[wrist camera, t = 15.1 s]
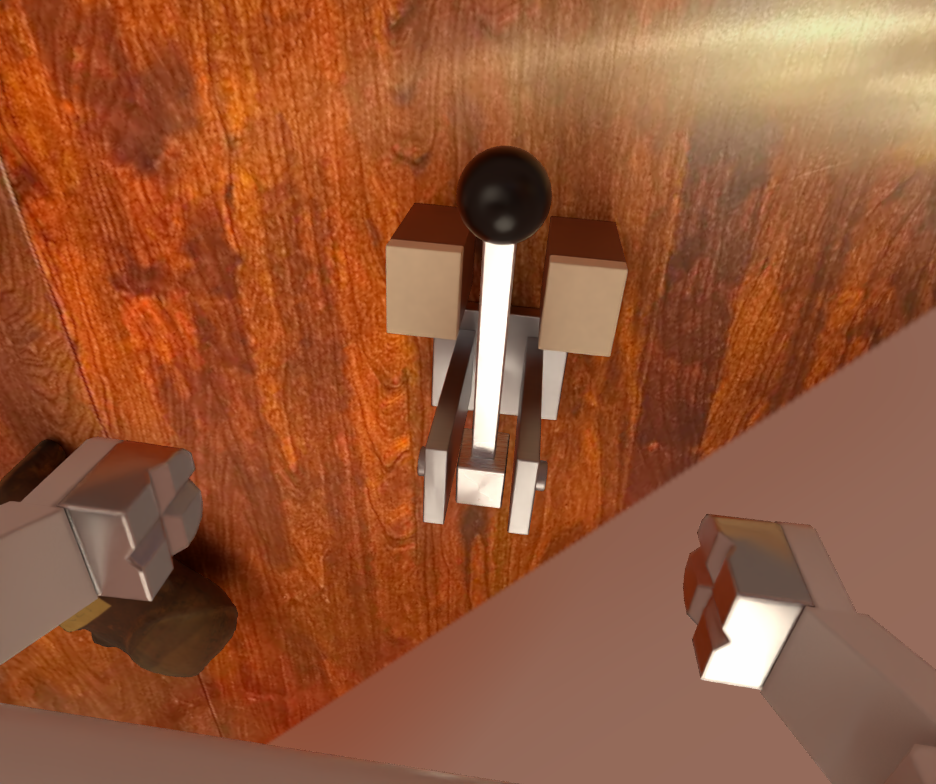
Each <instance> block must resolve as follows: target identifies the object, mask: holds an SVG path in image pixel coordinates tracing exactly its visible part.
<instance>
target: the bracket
mask: <svg viewBox="0 0 936 784" xmlns="http://www.w3.org/2000/svg"><path fill="white" fill-rule="evenodd" d="M539 319H540V309H535V308H526V307H516V306H511V307H510V317H509V327H508V337H507V347H506V357H505V367H504V377H503V387H502V397H501V407H500V414H507V415H516V416H518V418H517V429H516V440H515V452H514V463H513V474H512V485H511V496H510V508H509V519H508V530H507V531H508V532H509V533H516V534H524V535H528V534H529V529H530V522H531V516H532V509H533V503H534V496H535V490H540V491H544V489H545V485H546V478H547V461H541V460H540V440H541V418H542V419H550V420H556V419H557V414H558V408H559V402H560V396H561V390H562V384H563V378H564V372H565V366H566V360H567V354H568V352H560V351H551V350H542V349H539V348H538V340H539ZM478 321H479V303H478V302H467V305H466V309H465V312H464V316H463V319H462V323H461V326H460V330H459V333H458V336H457V339H456V340H449V339H440V338H434V344H433V373H432V402H431V405H432V406H437V409H436V412H435V416H434V419H433V423H432V426H431V430H430V433H429V437H428V440H427V444H426V447H424V446H423V447H421V449H420V453H419V459H418V475H419V476H424V502H423V522H429V523H436V524H444V520H445V516H446V511H447V506H448V501H449V497H450V492H451V487H452V482H453V478H454V473H455V468H456V463H457V459H458V454H459V449H460V444H461V440H462V434H463V430H464V425H465V421H466V416H467V411H468V410H473V409H474V392H475V374H476V356H477V338H478Z"/></svg>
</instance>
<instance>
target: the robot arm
mask: <svg viewBox="0 0 936 784" xmlns="http://www.w3.org/2000/svg"><path fill="white" fill-rule="evenodd" d="M194 471H195V465H194V462H193V458H192V454H191V453H190V452H189V451H187V450H185V449H182V448H175V447H168V446H162V445H155V444H148V443H142V442H135V441H128V440H126V441H123V440H117V439H111V438H104V437H94V438H91V439H87V440H86V441H85V442H84V443H83V444H82V445H81V446H80V447H78V448H77V449H76V450H75V451H74V452H73V453H72V454H71V455H70V456H69V457H68V458H67V459H66V460H65V461H64V462H63V463H61V464H60V465H59V466H58V467H57V468H56V469H55V470H54V471H53V472H52V473H51V474H50V475H49V476H48V477H47V478H45V479H44V480H43V481H42V482H41V483H40V484H39V485H38V486H37V487H36V488H35V489H34V490H33V491H32V492H31V493H30V494H28V495H27V496H26V497H25V498H24V499H23V500H22V501H21V502H15V501H9V502H7V503H5V504H2V505H0V665H1V664H3V663H4V662H6V661H7V660H9V659H10V658H12V657H13V656H15V655H16V654H17V653H19V652H20V651H22V650H23V649H25V648H26V647H28V646H29V645H31V644H32V643H34V642H35V641H36V640H38V639H39V638H41V637H42V636H44V635H45V634H47V633H48V632H50V631H51V630H53V629H54V628H55V627H57V626H58V625H60V624H61V623H63V622H64V621H66V620H67V619H69V618H70V617H72V616H73V615H74V614H76V613H77V612H79V611H80V610H82V609H83V608H85V607H86V606H88V605H89V604H91V603H92V602H94V601H95V600H96V599H98V596H107V597H116V598H125V599H134V600H143V601H152V600H153V599H154V597H155V596H156V594H157V593H158V591H159V590H160V588H161V587H162V585H163V584H164V582H165V581H166V579H167V578H168V576H169V575H170V573H171V572H172V570H173V569H174V566H173V561H172V556H173V555H175V554H176V553H178V552H180V551H182V550H183V549H185V548H187V547H188V546H189V545H190V543H191V541H192V540H193V538H194V537H195V535H196V534H197V531H198V528H199V525H200V521H201V518H202V509H203V501H202V496H201V491H200V489H199V488H198V487H197V486H196V485H195V484H194V483H193V482H192V481H191V480H190V479H189V477H190V476H191V475H192V473H193V472H194ZM697 534H698V538H699V542H700V545H701V546H700V547H699V548H697V549H696V550H694V551H693V552H691V553H690V555H689V558H688V561H687V565H686V568H685V574H684V583H683V591H684V601H685V607H686V612H687V615H688V616H689V617H690V618H691V619H692V620H693V621H694V622H695V623H696V624H697V629H696V631H695V634H694V636H693V639H692V641H693V646H694V650H695V655H696V659H697V664H698V668H699V673H700V678H701V680H708V681H713V682H719V683H725V684H731V685H737V686H743V687H749V688H755V689H760V690H761V692H760V693H761V694H762V695H763V697H764V698H765V699H766V700H767V702H768V703H769V704H770V705H771V707H772V708H773V709H774V711H775V712H776V713H777V714H778V716H779V717H780V718H781V720H782V721H783V722H784V723H785V725H786V726H787V727H788V728H789V730H790V731H791V732H792V733H793V735H794V736H795V737H796V739H797V740H798V741H799V742H800V744H801V745H802V746H803V747H804V749H805V750H806V751H807V753H808V754H809V755H810V756H811V758H812V759H813V760H814V761H815V763H816V764H817V765H818V767H819V768H820V769H821V770H822V772H823V773H824V774H825V775H826V777H827V778H828V779H829V780H830V782H831V783H832V784H936V669H934V668H933V667H932V666H931V665H929V664H928V663H927V662H926V661H924V660H923V659H922V658H921V657H919V656H918V655H917V654H916V653H914V652H913V651H912V650H911V649H910V648H908V647H907V646H906V645H905V644H903V643H902V642H901V641H900V640H899V639H897V638H896V637H895V636H894V635H892V634H891V633H890V632H889V631H887V630H886V629H885V628H884V627H883V626H881V625H880V624H879V623H878V622H876V621H875V620H874V619H873V618H871V617H870V616H869V615H865V614H858V613H857V612H856V610H855V608H854V606H853V604H852V602H851V600H850V598H849V596H848V594H847V592H846V590H845V587H844V585H843V583H842V581H841V579H840V577H839V575H838V573H837V571H836V569H835V567H834V565H833V563H832V561H831V559H830V557H829V555H828V553H827V551H826V549H825V547H824V545H823V543H822V541H821V539H820V537H819V535H818V533H817V531H816V530H815V529H814V528H813V527H812V526H810V525H805V524H796V523H787V522H777V521H776V522H771V521H763V520H755V519H746V518H738V517H729V516H720V515H712V514H706V516H705V517H704V518H703V519H702V521H701V524H700V526H699V529H698V532H697ZM97 595H98V596H97ZM0 784H518V783H511V782H505V781H498V780H492V779H486V778H479V777H472V776H466V775H459V774H453V773H447V772H440V771H433V770H427V769H420V768H415V767H408V766H401V765H395V764H389V763H382V762H376V761H370V760H363V759H357V758H350V757H344V756H337V755H331V754H324V753H318V752H312V751H305V750H299V749H292V748H286V747H280V746H273V745H267V744H260V743H254V742H247V741H241V740H235V739H228V738H222V737H215V736H209V735H203V734H196V733H190V732H183V731H177V730H170V729H164V728H158V727H151V726H145V725H138V724H132V723H126V722H119V721H113V720H106V719H100V718H93V717H87V716H81V715H74V714H68V713H61V712H55V711H49V710H42V709H36V708H29V707H23V706H17V705H10V704H4V703H0Z"/></svg>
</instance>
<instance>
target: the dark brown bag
mask: <svg viewBox="0 0 936 784" xmlns="http://www.w3.org/2000/svg"><path fill="white" fill-rule="evenodd" d="M64 459H65V452H64V450H63V449H62V447H61V446H60V445H59V444H57V443H55V442H53V441H51V440H43V441H41V442H40V443H39V444H38V445H37V446H36V447H35V448H34V449H33V450H32V451H31V452H30V453H29V454H28V455H27V456H26V457H25V458H24V459H23V460H21V461H20V462H19V463H18V464H17V465H16V466H15V467H14V468H13V469H12V470H11V471H10V472H9V473H8V474H7V475H6V476H5V477H4V478H3V479H2V480H1V481H0V505H2V504H5V503H7V502H9V501H15V502H21V501H22V500H23V499H24V498H25V497H26V496H27V495H28V494H30V493H31V492H32V491H33V490H34V489H35V488H36V487H37V486H38V485H39V484H40V483H41V482H42V481H43V480H44V479H45V478H47V477H48V476H49V475H50V474H51V473H52V472H53V471H54V470H55V469H56V468H57V467H58V466H59V465H60V464H61V463H63V462H64ZM172 561H173V566H174V569H173V570H172V572H171V573H170V575H169V576H168V578H167V579H166V581H165V582H164V584H163V585H162V587H161V588H160V590H159V591H158V593H157V594H156V596H155V597H154V599H153V600H152V601H143V600H134V599H125V598H116V597H107V596H98V595H97V596H98V599H96V600H95V601H94V602H92V603H91V604H89V605H88V606H86V607H85V608H83V609H82V610H80V611H79V612H77V613H76V614H74V615H73V616H72V617H70V618H69V619H67V620H66V621H64V622H63V623H61V624H60V625H59V626H60V627H62V628H63V629H64V630H65V631H67V632H72V631H76V630H81V629H86V630H88V631H90V632H91V633H92V639H93V641H94V643H96V644H100V645H102V646H105V647H118V648H119V649H121V650H123V651H124V652H125V653H127V654H128V655H129V656H130V657H131V659H132V660H133V661H134V662H135V663H136V664H138V665H139V666H140V667H142V668H144V669H146V670H148V671H151V672H154V673H159V674H163V675H167V676H174V677H192V676H196V675H198V674H199V673H200V672H201V671H202V670H203V669H204V667H205V666H206V665H207V664H208V663H209V662H210V661H211V660H212V659H213V658H214V657H215V656H216V655H217V654H218V653H219V652H220V651H221V650H222V649H223V648H224V646H225V645H226V644H227V642H228V641H229V640H230V639H231V638H232V636H233V633H234V631H235V630H236V624H237V617H238V612H237V609H236V606H235V605H234V604H233V603H232V602H231V600H230V598H229V597H228V596H227V594H226V593H225V592H224V591H223V590H222V589H221V588H220V587H219V586H217V585H216V584H215V583H214V582H212V581H211V580H209V579H207V578H206V577H204V576H202V575H201V574H199V573H197V572H195V571H194V570H192V569H190V568H189V567H187V566H186V565H184V564H182V563H181V562H180V561H178V560H177V559H175V558H174V557H172Z"/></svg>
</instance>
